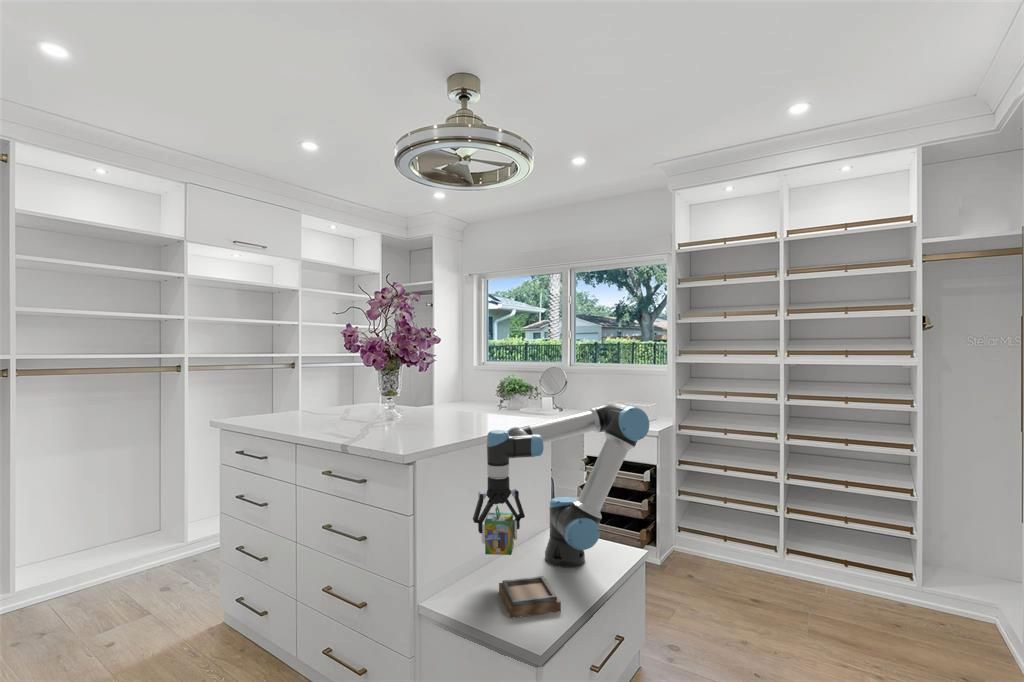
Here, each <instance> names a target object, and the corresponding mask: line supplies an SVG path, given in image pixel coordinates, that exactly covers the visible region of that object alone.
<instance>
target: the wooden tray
mask: <svg viewBox="0 0 1024 682" xmlns="http://www.w3.org/2000/svg"><path fill="white" fill-rule="evenodd" d="M498 594H499V596H500V598H501V600H502V602H504V603H503V605H504V607H505V608H506V611H507V614H508V616H509V618H510V619H514V618H513V617H515V618H521V617H520V616H523V617H528V615H530V616H537V615H544V614H551V613H550V612H553V613H558V611H560V612H562V611H561V610H562V601H561V600H560V598H559V597H558V595H557V593H556V592H555V590H554V589H553V588H552V585H551V584H550V583H549V582H548V580H547V579H546V578H545V577H544V575H541V576H540V575H539V576H532V577H531V576H530V577H521V578H513V579H506V580H502V582H498Z"/></svg>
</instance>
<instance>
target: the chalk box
mask: <svg viewBox="0 0 1024 682" xmlns="http://www.w3.org/2000/svg"><path fill="white" fill-rule="evenodd" d="M513 518H514V515H513V513H512V512H509V513H508V512H501V511H500V508H499V504H496V507H495V512H489V513H488V514H487V516H486V518H485V520H484V524H485V544H484V547H485V548H484V549H485V551H484V555H498V556H499V555H500V556H501V555H502V556H503V555H504V556H506V555H507V556H511V555H512V554H513V550H514V545H515V539H514V538H513Z"/></svg>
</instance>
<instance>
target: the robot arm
mask: <svg viewBox="0 0 1024 682" xmlns="http://www.w3.org/2000/svg"><path fill="white" fill-rule="evenodd" d="M649 431H650V419H649V417H648V414H647V413H646V412H645V410H643V409H642V408H639V407H638V406H635V405H633V404H632V405H630V404H627V403H624V402H620V401H619V402H617V401H616V402H611V403H606V404H603V405H598V406H594V407H591V408H589V410H588V411H585V412H581V413H577V414H573V415H569V416H566V417H560V418H558V419H556V418H555V419H552V420H549V421H544V422H540V423H536V424H532V425H527V426H524V427H519V426H517V427H516V426H514V427H511V428H509V429H508V430H505V429H495V430H490V431H489V432H488V433H487V439H486V456H487V457H486V458H487V459H486V460H487V465H486V466H487V476H488V477H487V490H486V492H481V491H478V495H477V496H478V498H477V499H478V500H477V503H476V507H475V510H474V513H473V517H472V520H473V523H475V524H477V528H478V533H479V534H480V535H481V536H480V539H481V543H482V544H483V545H485V519H486V517H487V515H488V513H490V511H491V509H492V507H493V506H494V505H499V504H501V505H503V504H506V506H507V507H508V509H509V510H510V513H513V538H514V541H517V540H518V530H520V526H521V525H520V523H521V522H520V521H521V519H525V517H526V515H525V512H524V509H523V507H522V506H523V505H522V503H521V500H520V497H519V496H520V493H519V492H520V491H518V489H517V488H514V489H510V476H509V475H510V459H517V458H518V459H521V458H535V457H541V456H542V455H543V453H544V448H545V447H544V444H547V443H550V442H553V441H557V440H561V439H565V438H566V439H567V438H570V437H574V436H578V435H583V434H586V433H590V432H595V433H601V432H604V436H605V438H606V439H605V442H604V443H603V446H602V448H601V450H600V452H599V454H598V456H597V458H596V461H595V463H594V465H593V467H592V470H591V471H590V473H589V475H588V477H587V479H586V482H585V483H584V486H583V488H582V490H581V492H580V495H579V496H578V497H573V496H559V497H554V498H552V499H550V501H549V507H548V509H549V539H548V542H547V545H546V547H545V548H546V549H545V550H544V559H545V561H546V560H547V561H548V562H549V564H550V563H551V564H550V565H552V564H553V565H552V566H555V565H556V566H555V567H559V566H561V567H562V568H573V567H578V566H580V565H582V564H583V563H584V562H585V561H586V559H585V558H586V556H585V555H586V554H585V551H586V550H588V549H591V548H593V547H594V546H596V543H597V542H598V541H599V538H600V534H601V533H600V528H599V524H600V522H601V520H602V518H603V517H602V514H601V510H602V509H603V508H602V507H603V505H604V502H605V501H606V499H607V497H608V495H609V493H610V490H611V488H612V485H613V483H614V481H615V480H616V477H617V475H618V473H619V472H620V469H621V467H622V465H623V463H624V460H625V458H626V456H627V454H628V452H629V450H631V449H634V448H635V447H636V445H637V443H638V441H640V440H642V439H643V440H644V438H645V437H646V436H647V435H648V433H649ZM510 496H512V497H513V499H514V501H515V504H516V508H517V510H518V513H517V511H516V510H515V509H514V507H513V505H512V503H511V502H510V501H509V497H510ZM486 497H487V498H488V500H487V502H486V505H485V506H484V508H483V504H484V500H485V499H486ZM482 508H483V510H482ZM481 510H482V512H481ZM547 561H546V562H547ZM548 562H547V563H548ZM561 567H560V568H561Z"/></svg>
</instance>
